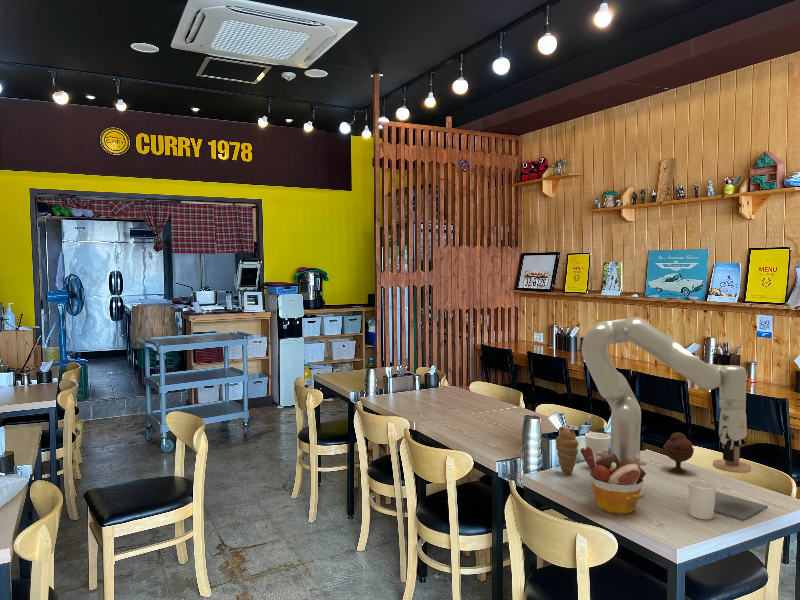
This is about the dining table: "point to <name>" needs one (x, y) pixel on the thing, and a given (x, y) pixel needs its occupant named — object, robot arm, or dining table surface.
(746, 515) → the mat
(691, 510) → the white cup
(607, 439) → the foam cup
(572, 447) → the cat ice cream
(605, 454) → the bucket of meat
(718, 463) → the lid
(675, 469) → the ice cream bowl
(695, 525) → the dining table surface
